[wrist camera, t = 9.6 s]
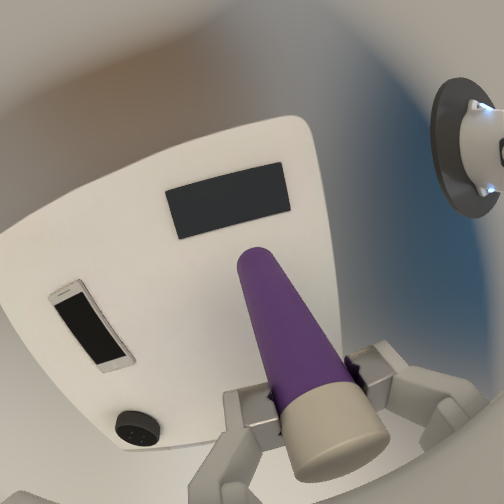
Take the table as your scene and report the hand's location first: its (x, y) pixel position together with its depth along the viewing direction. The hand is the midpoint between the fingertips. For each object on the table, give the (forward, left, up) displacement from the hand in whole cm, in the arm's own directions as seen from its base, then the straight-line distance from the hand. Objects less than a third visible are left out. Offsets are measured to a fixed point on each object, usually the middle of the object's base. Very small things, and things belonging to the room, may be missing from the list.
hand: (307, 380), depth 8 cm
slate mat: (0, -2, -26) cm, 26 cm away
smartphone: (+25, +10, -26) cm, 38 cm away
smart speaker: (+29, +34, -26) cm, 51 cm away
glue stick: (0, 0, -11) cm, 11 cm away
